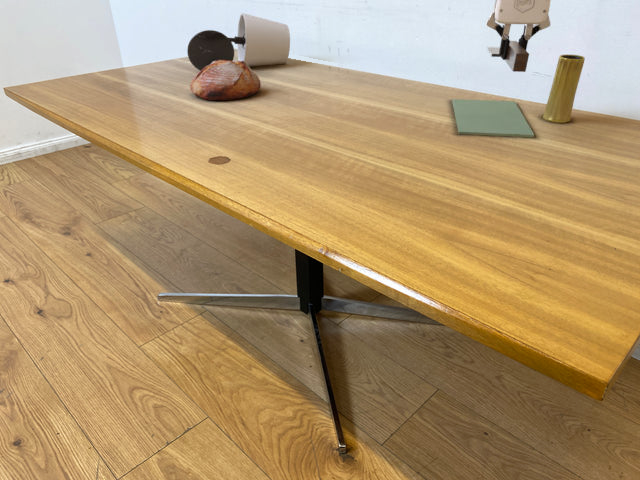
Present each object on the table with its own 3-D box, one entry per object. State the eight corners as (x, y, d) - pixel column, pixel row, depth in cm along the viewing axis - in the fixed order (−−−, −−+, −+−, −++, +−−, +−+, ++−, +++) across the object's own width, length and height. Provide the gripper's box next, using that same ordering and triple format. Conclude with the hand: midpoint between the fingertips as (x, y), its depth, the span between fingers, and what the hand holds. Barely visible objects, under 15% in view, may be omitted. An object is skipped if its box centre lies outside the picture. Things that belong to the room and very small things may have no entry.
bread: (266, 101, 135) (264, 64, 129) (194, 108, 130) (189, 70, 124) (254, 83, 148) (252, 49, 142) (188, 89, 142) (183, 53, 137)
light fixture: (183, 46, 170) (277, 54, 180) (187, 75, 158) (287, 81, 169) (183, -3, 157) (284, 9, 168) (187, 25, 146) (295, 35, 157)
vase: (573, 118, 116) (590, 56, 109) (565, 124, 112) (582, 60, 105) (547, 113, 120) (562, 52, 112) (538, 119, 116) (553, 57, 108)
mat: (514, 103, 127) (514, 101, 127) (534, 137, 106) (534, 135, 105) (452, 101, 130) (452, 99, 129) (458, 134, 108) (459, 131, 108)
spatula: (537, 72, 95) (541, 54, 93) (500, 71, 96) (504, 53, 94) (517, 50, 113) (520, 34, 112) (486, 49, 114) (489, 34, 113)
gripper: (489, -40, 92) (474, 61, 102) (579, -40, 90) (554, 63, 99) (484, -41, 98) (470, 54, 108) (568, -42, 96) (546, 56, 106)
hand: (511, 58), depth 104 cm, fingers closed on spatula, 2 cm apart
